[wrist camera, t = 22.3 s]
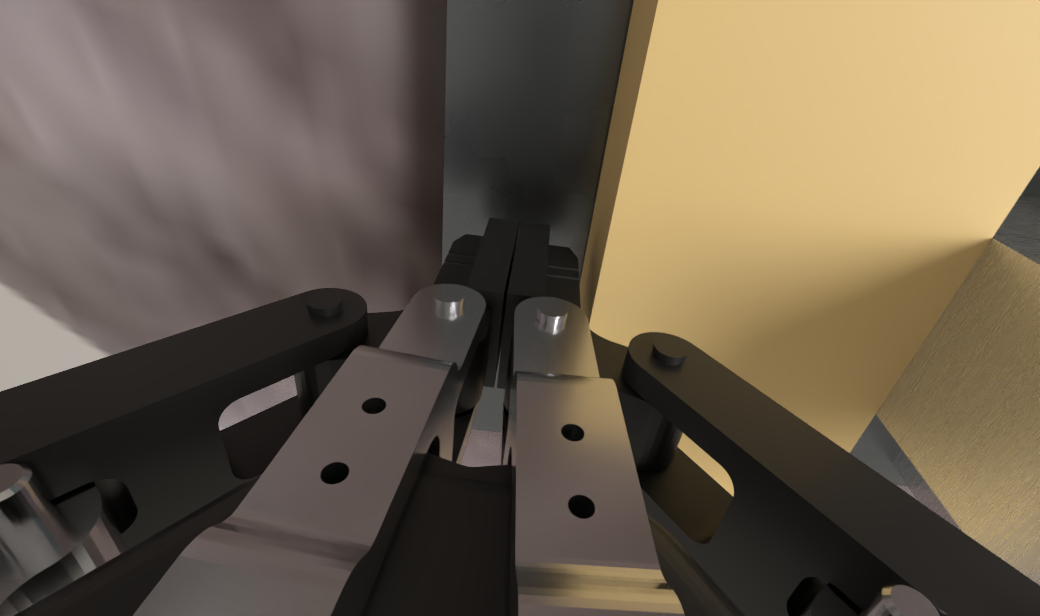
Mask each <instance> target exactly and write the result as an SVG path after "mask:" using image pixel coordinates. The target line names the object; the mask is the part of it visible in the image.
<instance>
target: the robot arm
mask: <svg viewBox="0 0 1040 616" xmlns="http://www.w3.org/2000/svg"><path fill="white" fill-rule="evenodd" d="M518 229H519V221H514V220H506V219H499V218H491V217H490V218H489V221H488V224H487V227H486V230H485V232H484V235H483V236H478V235H471V234H465V235H463V236H462V237H460V238H458V239H457V240H455V241H454V242H453V243H452V246H451V248H450V250H449V253H448V254H447V257H446V259H445V262H444V263H443V265H442V268H441V270H440V272H439V274H438V276H437V279H436V281H435V283H434V285H432V286H428V287H425V288H423V289H421V290H419V291H418V292H417V293H415V295H414V296H413V297H412V299H411V300H410V302H409V303H408V305H407V306H406V308H405V309H404V310H401V311H394V312H381V313H367V305H366V302H365V300H364V299H363V298H362V297H361V296H360V295H358V294H357V293H354V292H352V291H349V290H345V289H338V288H323V289H316V290H311V291H307V292H304V293H301V294H298V295H295V296H292V297H289V298H286V299H283V300H280V301H276V302H273V303H270V304H267V305H264V306H261V307H258V308H255V309H252V310H249V311H246V312H243V313H240V314H237V315H234V316H231V317H228V318H224V319H221V320H218V321H215V322H212V323H209V324H206V325H203V326H200V327H197V328H194V329H191V330H188V331H185V332H182V333H179V334H176V335H173V336H169V337H166V338H163V339H160V340H157V341H154V342H151V343H148V344H145V345H142V346H139V347H136V348H133V349H130V350H127V351H124V352H121V353H118V354H114V355H111V356H108V357H105V358H102V359H99V360H96V361H93V362H90V363H87V364H84V365H81V366H78V367H75V368H72V369H69V370H66V371H63V372H59V373H56V374H53V375H50V376H47V377H44V378H41V379H38V380H35V381H32V382H29V383H26V384H23V385H20V386H17V387H14V388H11V389H7V390H4V391H1V392H0V616H1040V585H1038V584H1037V583H1035V582H1034V581H1032V580H1031V579H1030V578H1028V577H1027V576H1025V575H1024V574H1022V573H1021V572H1020V571H1018V570H1017V569H1015V568H1014V567H1012V566H1011V565H1010V564H1008V563H1007V562H1005V561H1004V560H1002V559H1001V558H999V557H998V556H997V555H995V554H994V553H992V552H991V551H989V550H988V549H987V548H985V547H984V546H982V545H981V544H979V543H978V542H976V541H975V540H974V539H972V538H971V537H969V536H968V535H966V534H965V533H964V532H962V531H961V530H959V529H958V528H956V527H955V526H953V525H952V524H951V523H949V522H948V521H946V520H945V519H943V518H942V517H941V516H939V515H938V514H936V513H935V512H933V511H932V510H931V509H929V508H928V507H926V506H925V505H923V504H922V503H920V502H919V501H918V500H916V499H915V498H913V497H912V496H910V495H909V494H908V493H906V492H905V491H903V490H902V489H900V488H899V487H897V486H896V485H895V484H893V483H892V482H890V481H889V480H887V479H886V478H885V477H883V476H882V475H880V474H879V473H877V472H876V471H874V470H873V469H872V468H870V467H869V466H867V465H866V464H864V463H863V462H862V461H860V460H859V459H857V458H856V457H854V456H853V455H851V454H850V453H849V452H847V451H846V450H844V449H843V448H841V447H840V446H839V445H837V444H836V443H834V442H833V441H831V440H830V439H829V438H827V437H826V436H824V435H823V434H821V433H820V432H818V431H817V430H816V429H814V428H813V427H811V426H810V425H808V424H807V423H806V422H804V421H803V420H801V419H800V418H798V417H797V416H795V415H794V414H793V413H791V412H790V411H788V410H787V409H785V408H784V407H783V406H781V405H780V404H778V403H777V402H775V401H774V400H772V399H771V398H770V397H768V396H767V395H765V394H764V393H762V392H761V391H760V390H758V389H757V388H755V387H754V386H752V385H751V384H750V383H748V382H747V381H745V380H744V379H742V378H741V377H739V376H738V375H737V374H735V373H734V372H732V371H731V370H729V369H728V368H727V367H725V366H724V365H722V364H721V363H719V362H718V361H716V360H715V359H714V358H712V357H711V356H709V355H708V354H706V353H705V352H704V351H702V350H701V349H699V348H698V347H696V346H695V345H693V344H692V343H690V342H689V341H687V340H685V339H683V338H680V337H678V336H675V335H671V334H667V333H661V332H646V333H642V334H639V335H637V336H635V337H634V338H632V340H631V341H630V343H629V346H628V347H627V346H624V345H621V344H618V343H615V342H612V341H609V340H607V339H605V338H603V337H601V336H599V335H597V334H596V333H594V332H593V331H592V330H590V327H589V323H588V318H587V316H586V314H585V313H584V312H583V310H582V309H581V304H580V284H579V265H578V257H577V256H576V255H575V254H574V253H573V251H572V250H571V249H570V248H569V247H562V246H555V245H549V238H550V225H544V224H537V223H529V222H522V221H521V225H520V230H519V235H518ZM517 238H518V240H517ZM500 352H501V354H500ZM499 357H500V363H499ZM498 363H499V372H498V381H497V388H500V389H505V393H504V402H503V410H502V418H501V438H500V461H499V465H498V466H485V467H467V466H463V465H461V461H462V458H463V455H464V452H465V449H466V446H467V443H468V440H469V437H470V433H471V430H472V427H473V424H474V421H475V418H476V414H477V404H478V402H479V400H480V398H481V395H482V390H483V386H484V387H492V388H494V385H495V380H496V374H497V368H498ZM292 375H294V377H295V383H296V389H297V396H294V397H292V398H290V399H288V400H286V401H284V402H282V403H279V404H277V405H275V406H273V407H271V408H269V409H267V410H264V411H262V412H260V413H258V414H256V415H254V416H251V417H249V418H247V419H245V420H243V421H241V422H239V423H236V424H234V425H232V426H230V427H228V428H226V429H223V430H221V431H220V430H219V426H218V422H219V418H220V416H221V414H222V412H223V411H224V410H225V409H226V408H227V406H229V405H230V404H231V403H232V402H234V401H235V400H237V399H239V398H242V397H244V396H246V395H249V394H251V393H253V392H255V391H258V390H260V389H262V388H265V387H267V386H269V385H272V384H274V383H276V382H278V381H281V380H283V379H285V378H288V377H290V376H292ZM683 433H684V434H685V435H686V436H687V437H688V438H690V439H691V440H692V441H693V442H694V443H695V444H697V445H698V446H699V447H700V448H701V449H702V450H703V451H705V452H706V453H707V454H708V455H709V456H710V457H712V458H713V459H714V460H715V461H716V462H717V463H719V464H720V465H721V466H722V467H723V468H724V469H725V471H726V472H727V473H728V475H729V477H730V478H731V481H732V483H733V487H734V496H732V495H731V494H730V493H729V492H728V491H726V490H725V489H724V488H723V487H722V486H721V485H720V484H719V483H717V482H716V481H715V480H714V479H713V478H712V477H711V476H710V475H709V474H707V473H706V472H705V471H704V470H703V469H702V468H701V467H700V466H698V465H697V464H696V463H695V462H694V461H693V460H692V459H691V458H690V457H688V456H687V455H686V454H685V453H684V452H683V451H682V450H681V449H679V448H678V444H679V442H680V439H681V437H682V434H683Z"/></svg>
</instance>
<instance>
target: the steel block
mask: <svg viewBox="0 0 1040 616" xmlns="http://www.w3.org/2000/svg"><path fill="white" fill-rule="evenodd" d="M876 415H877V416H878V418H879V419H880V420H881V422H882V423H883V424H884V426H885V427H886V428H887V430H888V431H889V433H890V434H891V435H892V437H893V438H894V439H895V441H896V442H897V443H898V445H899V446H900V447H901V449H902V450H903V452H904V453H905V454H906V456H907V457H908V458H909V460H910V461H911V462H912V464H913V465H914V466H915V468H916V469H917V471H918V472H919V473H920V475H921V476H922V477H923V479H924V480H925V481H926V483H927V484H928V485H929V487H930V488H931V490H932V491H933V492H934V494H935V495H936V496H937V498H938V499H939V500H940V502H941V503H942V504H943V506H944V507H945V508H946V510H947V511H948V513H949V514H950V515H951V517H952V518H953V519H954V521H955V522H956V523H957V525H958V526H959V527H960V529H961V530H962V532H964V533H965V534H966V535H968V536H969V537H971V538H972V539H974V540H975V541H976V542H978V543H979V544H981V545H982V546H984V547H985V548H987V549H988V550H989V551H991V552H992V553H994V554H995V555H997V556H998V557H999V558H1001V559H1002V560H1004V561H1005V562H1007V563H1008V564H1010V565H1011V566H1012V567H1014V568H1015V569H1017V570H1018V571H1020V572H1021V573H1022V574H1024V575H1025V576H1027V577H1028V578H1030V579H1031V580H1032V581H1034V582H1035V583H1037V584H1038V585H1040V198H1035V197H1027V196H1020V197H1019V198H1018V200H1017V201H1016V203H1015V204H1014V206H1013V207H1012V209H1011V210H1010V212H1009V213H1008V215H1007V217H1006V218H1005V220H1004V221H1003V223H1002V224H1001V226H1000V227H999V229H998V230H997V232H996V233H995V235H994V236H993V238H992V239H991V241H990V242H989V244H988V245H987V247H986V248H985V250H984V251H983V253H982V254H981V256H980V257H979V259H978V260H977V262H976V263H975V265H974V266H973V268H972V269H971V271H970V272H969V274H968V275H967V277H966V278H965V280H964V281H963V283H962V284H961V286H960V287H959V289H958V290H957V292H956V293H955V295H954V296H953V298H952V299H951V301H950V302H949V304H948V305H947V307H946V308H945V310H944V311H943V313H942V314H941V316H940V318H939V319H938V321H937V322H936V324H935V325H934V327H933V328H932V330H931V331H930V333H929V334H928V336H927V337H926V339H925V340H924V342H923V343H922V345H921V346H920V348H919V349H918V351H917V352H916V354H915V355H914V357H913V358H912V360H911V361H910V363H909V364H908V366H907V367H906V369H905V370H904V372H903V373H902V375H901V376H900V378H899V379H898V381H897V382H896V384H895V385H894V387H893V388H892V390H891V391H890V393H889V394H888V396H887V397H886V399H885V400H884V402H883V404H882V405H881V407H880V408H879V410H878V411H877V413H876Z"/></svg>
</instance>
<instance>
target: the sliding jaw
mask: <svg viewBox="0 0 1040 616" xmlns="http://www.w3.org/2000/svg"><path fill="white" fill-rule="evenodd" d="M1039 167H1040V0H634V2H633V7H632V13H631V18H630V23H629V28H628V33H627V39H626V44H625V49H624V54H623V60H622V65H621V70H620V75H619V81H618V86H617V91H616V96H615V102H614V107H613V112H612V117H611V123H610V128H609V133H608V138H607V144H606V149H605V154H604V159H603V165H602V170H601V175H600V180H599V186H598V191H597V196H596V201H595V207H594V212H593V217H592V222H591V228H590V233H589V238H588V243H587V248H586V254H585V259H584V264H583V269H582V275H581V280H580V304H581V309H582V310H583V312H584V313H585V314H586V316H587V318H588V323H589V327H590V330H592V331H593V332H594V333H596V334H597V335H599V336H601V337H603V338H605V339H607V340H609V341H612V342H615V343H618V344H621V345H624V346H627V347H628V346H629V343H630V341H631V340H632V338H634V337H635V336H637V335H639V334H642V333H646V332H661V333H667V334H671V335H675V336H678V337H680V338H683V339H685V340H687V341H689V342H690V343H692V344H693V345H695V346H696V347H698V348H699V349H701V350H702V351H704V352H705V353H706V354H708V355H709V356H711V357H712V358H714V359H715V360H716V361H718V362H719V363H721V364H722V365H724V366H725V367H727V368H728V369H729V370H731V371H732V372H734V373H735V374H737V375H738V376H739V377H741V378H742V379H744V380H745V381H747V382H748V383H750V384H751V385H752V386H754V387H755V388H757V389H758V390H760V391H761V392H762V393H764V394H765V395H767V396H768V397H770V398H771V399H772V400H774V401H775V402H777V403H778V404H780V405H781V406H783V407H784V408H785V409H787V410H788V411H790V412H791V413H793V414H794V415H795V416H797V417H798V418H800V419H801V420H803V421H804V422H806V423H807V424H808V425H810V426H811V427H813V428H814V429H816V430H817V431H818V432H820V433H821V434H823V435H824V436H826V437H827V438H829V439H830V440H831V441H833V442H834V443H836V444H837V445H839V446H840V447H841V448H843V449H844V450H846V451H847V452H849V453H850V452H851V450H852V449H853V447H854V446H855V444H856V443H857V441H858V440H859V438H860V437H861V435H862V434H863V432H864V431H865V429H866V428H867V426H868V425H869V423H870V422H871V420H872V419H873V417H874V416H875V414H876V413H877V411H878V410H879V408H880V407H881V405H882V404H883V402H884V400H885V399H886V397H887V396H888V394H889V393H890V391H891V390H892V388H893V387H894V385H895V384H896V382H897V381H898V379H899V378H900V376H901V375H902V373H903V372H904V370H905V369H906V367H907V366H908V364H909V363H910V361H911V360H912V358H913V357H914V355H915V354H916V352H917V351H918V349H919V348H920V346H921V345H922V343H923V342H924V340H925V339H926V337H927V336H928V334H929V333H930V331H931V330H932V328H933V327H934V325H935V324H936V322H937V321H938V319H939V318H940V316H941V314H942V313H943V311H944V310H945V308H946V307H947V305H948V304H949V302H950V301H951V299H952V298H953V296H954V295H955V293H956V292H957V290H958V289H959V287H960V286H961V284H962V283H963V281H964V280H965V278H966V277H967V275H968V274H969V272H970V271H971V269H972V268H973V266H974V265H975V263H976V262H977V260H978V259H979V257H980V256H981V254H982V253H983V251H984V250H985V248H986V247H987V245H988V244H989V242H990V241H991V239H992V238H993V236H994V235H995V233H996V232H997V230H998V229H999V227H1000V226H1001V224H1002V223H1003V221H1004V220H1005V218H1006V217H1007V215H1008V213H1009V212H1010V210H1011V209H1012V207H1013V206H1014V204H1015V203H1016V201H1017V200H1018V198H1019V197H1020V195H1021V194H1022V192H1023V191H1024V189H1025V188H1026V186H1027V185H1028V183H1029V182H1030V180H1031V179H1032V177H1033V176H1034V174H1035V173H1036V171H1037V170H1038V168H1039ZM678 448H679V449H681V450H682V451H683V452H684V453H685V454H686V455H687V456H688V457H690V458H691V459H692V460H693V461H694V462H695V463H696V464H697V465H698V466H700V467H701V468H702V469H703V470H704V471H705V472H706V473H707V474H709V475H710V476H711V477H712V478H713V479H714V480H715V481H716V482H717V483H719V484H720V485H721V486H722V487H723V488H724V489H725V490H726V491H728V492H729V493H730V494H731V495H732V496H734V487H733V483H732V481H731V478H730V477H729V475H728V473H727V472H726V471H725V469H724V468H723V467H722V466H721V465H720V464H719V463H717V462H716V461H715V460H714V459H713V458H712V457H710V456H709V455H708V454H707V453H706V452H705V451H703V450H702V449H701V448H700V447H699V446H698V445H697V444H695V443H694V442H693V441H692V440H691V439H690V438H688V437H687V436H686V435H685V434H684V433H683V434H682V437H681V439H680V442H679V444H678Z"/></svg>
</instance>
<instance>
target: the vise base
mask: <svg viewBox="0 0 1040 616" xmlns="http://www.w3.org/2000/svg"><path fill="white" fill-rule="evenodd" d="M633 2H634V0H447V34H446V84H445V134H444V185H443V235H442V265H443V263H444V262H445V259H446V257H447V254H448V253H449V250H450V248H451V246H452V243H453V242H454V241H455V240H457V239H458V238H460V237H462V236H463V235H465V234H471V235H478V236H483V235H484V232H485V230H486V227H487V224H488V221H489V218H490V217H491V218H499V219H506V220H514V221H519V229H518V235H519V230H520V225H521V221H522V222H529V223H537V224H544V225H550V238H549V245H555V246H562V247H569V248H570V249H571V250H572V251H573V253H574V254H575V255H576V256H577V257H578V265H579V284H580V280H581V275H582V269H583V264H584V259H585V254H586V248H587V243H588V238H589V233H590V228H591V222H592V217H593V212H594V207H595V201H596V196H597V191H598V186H599V180H600V175H601V170H602V165H603V159H604V154H605V149H606V144H607V138H608V133H609V128H610V123H611V117H612V112H613V107H614V102H615V96H616V91H617V86H618V81H619V75H620V70H621V65H622V60H623V54H624V49H625V44H626V39H627V33H628V28H629V23H630V18H631V13H632V7H633ZM1020 196H1027V197H1035V198H1040V167H1039V168H1038V170H1037V171H1036V173H1035V174H1034V176H1033V177H1032V179H1031V180H1030V182H1029V183H1028V185H1027V186H1026V188H1025V189H1024V191H1023V192H1022V194H1021V195H1020ZM517 240H518V238H517ZM500 354H501V352H500ZM499 363H500V357H499ZM499 363H498V368H497V374H496V380H495V385H494V388H492V387H484V386H483V390H482V395H481V398H480V400H479V402H478V404H477V414H476V418H475V421H474V424H473V427H472V429H478V430H486V431H493V432H501V418H502V410H503V402H504V393H505V389H500V388H497V381H498V372H499ZM850 454H851V455H853V456H854V457H856V458H857V459H859V460H860V461H862V462H863V463H864V464H866V465H867V466H869V467H870V468H872V469H873V470H874V471H876V472H877V473H879V474H880V475H882V476H883V477H885V478H886V479H887V480H889V481H890V482H892V483H893V484H895V485H902V486H908V487H909V489H910V490H911V492H912V493H913V494H914V496H915V497H916V499H917V500H918V501H919V502H920V503H922V504H923V505H925V506H926V507H928V508H929V509H931V510H932V511H933V512H935V513H936V514H938V515H939V516H941V517H942V518H943V519H945V520H946V521H948V522H949V523H951V524H952V525H953V526H955V527H956V528H958V529H959V530H961V529H960V527H959V526H958V525H957V523H956V522H955V521H954V519H953V518H952V517H951V515H950V514H949V513H948V511H947V510H946V508H945V507H944V506H943V504H942V503H941V502H940V500H939V499H938V498H937V496H936V495H935V494H934V492H933V491H932V490H931V488H930V487H929V485H928V484H927V483H926V481H925V480H924V479H923V477H922V476H921V475H920V473H919V472H918V471H917V469H916V468H915V466H914V465H913V464H912V462H911V461H910V460H909V458H908V457H907V456H906V454H905V453H904V452H903V450H902V449H901V447H900V446H899V445H898V443H897V442H896V441H895V439H894V438H893V437H892V435H891V434H890V433H889V431H888V430H887V428H886V427H885V426H884V424H883V423H882V422H881V420H880V419H879V418H878V416H877V415H876V414H875V416H874V417H873V419H872V420H871V422H870V423H869V425H868V426H867V428H866V429H865V431H864V432H863V434H862V435H861V437H860V438H859V440H858V441H857V443H856V444H855V446H854V447H853V449H852V450H851V452H850ZM961 531H962V530H961Z"/></svg>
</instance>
